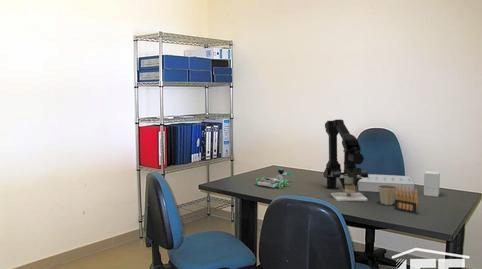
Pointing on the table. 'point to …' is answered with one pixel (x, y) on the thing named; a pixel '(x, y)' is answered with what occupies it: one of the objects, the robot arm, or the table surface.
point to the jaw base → (349, 197)
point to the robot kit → (274, 180)
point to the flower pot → (387, 194)
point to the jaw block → (349, 188)
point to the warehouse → (385, 182)
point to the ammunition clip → (406, 200)
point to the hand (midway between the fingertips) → (348, 190)
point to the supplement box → (431, 183)
